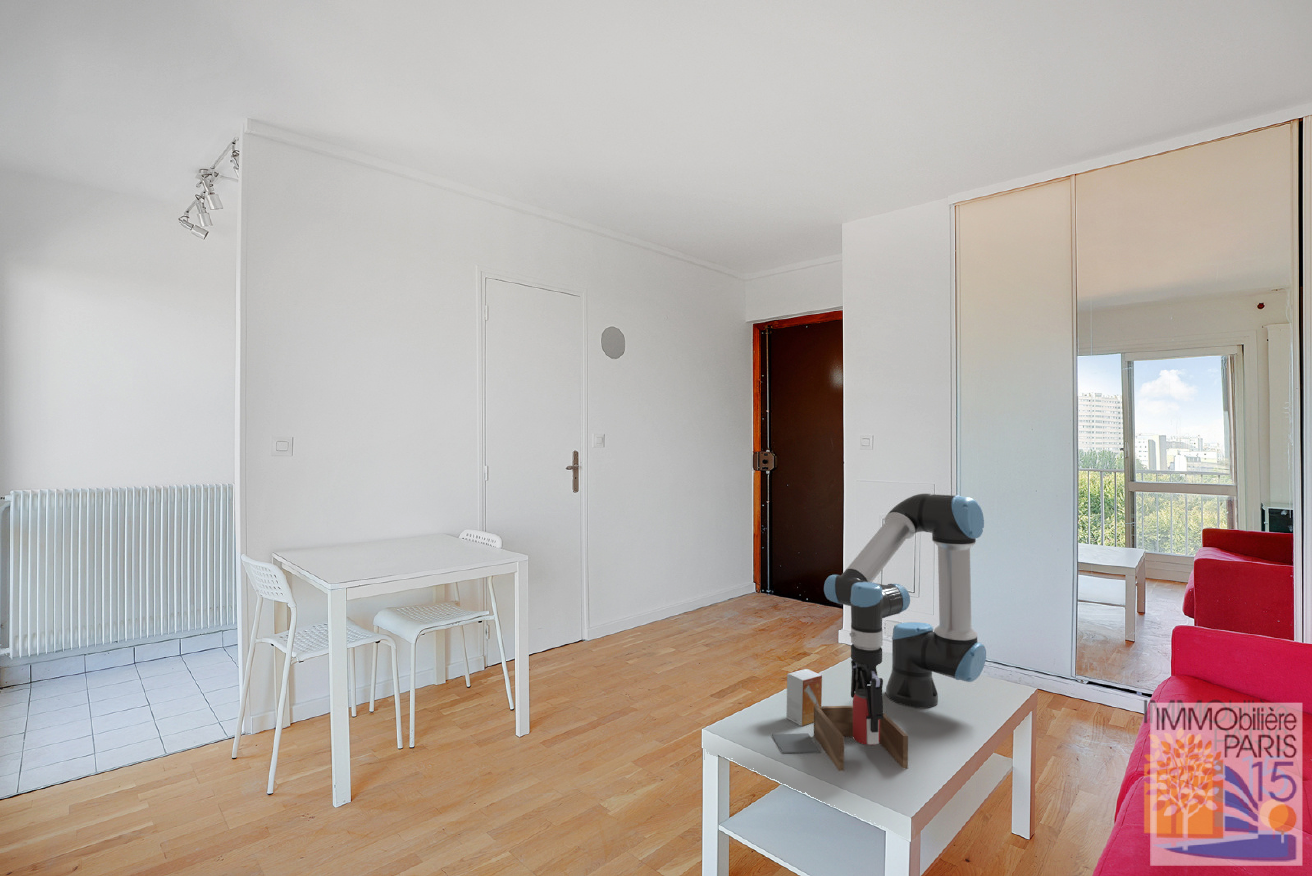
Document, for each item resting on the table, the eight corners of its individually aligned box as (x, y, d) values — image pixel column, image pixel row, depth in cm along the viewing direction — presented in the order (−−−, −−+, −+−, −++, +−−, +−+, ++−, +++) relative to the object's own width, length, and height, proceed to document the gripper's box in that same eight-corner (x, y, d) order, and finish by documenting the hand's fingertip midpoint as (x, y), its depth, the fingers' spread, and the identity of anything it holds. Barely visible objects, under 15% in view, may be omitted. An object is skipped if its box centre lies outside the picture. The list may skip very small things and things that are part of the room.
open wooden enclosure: (875, 734, 173) (875, 705, 173) (907, 768, 155) (908, 735, 155) (813, 736, 171) (814, 706, 171) (838, 770, 153) (839, 737, 153)
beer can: (848, 734, 162) (848, 688, 162) (873, 733, 163) (873, 687, 163) (859, 747, 156) (859, 699, 156) (884, 746, 156) (884, 698, 156)
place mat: (808, 734, 172) (808, 733, 172) (820, 752, 162) (820, 751, 162) (772, 735, 171) (772, 734, 171) (782, 753, 161) (782, 752, 161)
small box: (802, 726, 177) (802, 680, 177) (785, 718, 182) (786, 673, 182) (822, 720, 181) (822, 674, 181) (805, 712, 187) (806, 668, 187)
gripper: (837, 633, 169) (837, 719, 169) (868, 659, 149) (868, 756, 149) (864, 632, 169) (864, 718, 169) (899, 658, 150) (899, 755, 150)
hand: (866, 736), depth 159 cm, fingers closed on beer can, 7 cm apart
